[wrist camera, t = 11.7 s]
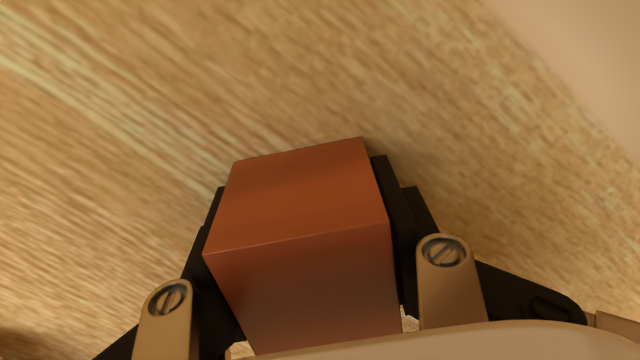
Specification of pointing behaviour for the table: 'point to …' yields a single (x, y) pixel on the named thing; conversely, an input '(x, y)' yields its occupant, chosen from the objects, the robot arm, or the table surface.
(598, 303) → the table surface
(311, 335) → the block
